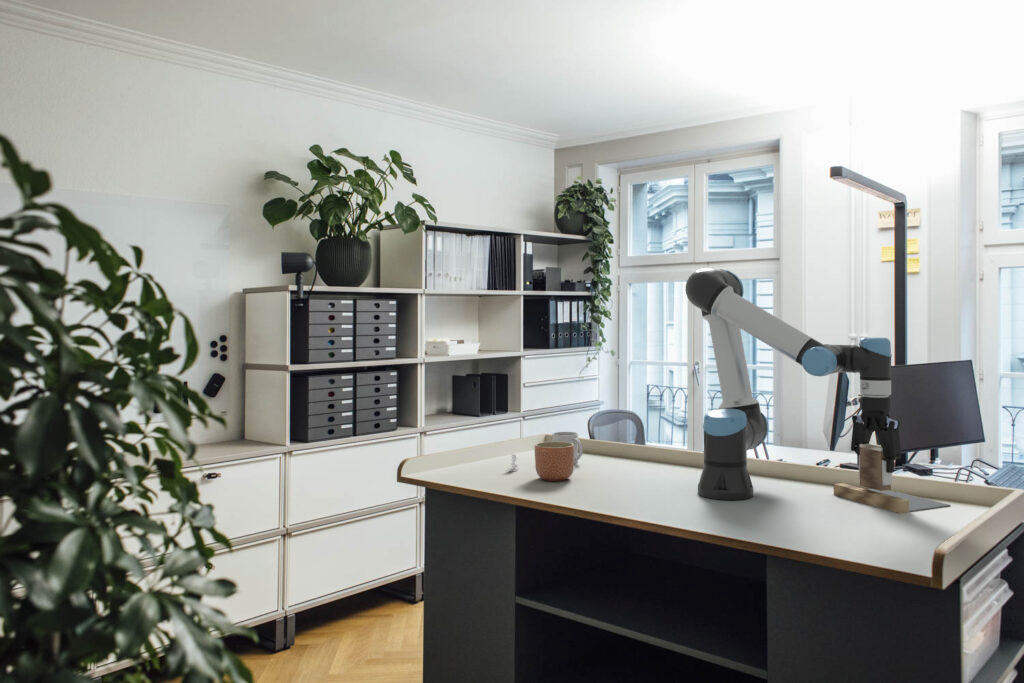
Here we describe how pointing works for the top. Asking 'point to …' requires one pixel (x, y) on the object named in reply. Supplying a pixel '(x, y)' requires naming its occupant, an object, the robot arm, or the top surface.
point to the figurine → (513, 463)
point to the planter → (554, 460)
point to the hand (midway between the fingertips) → (875, 481)
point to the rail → (872, 498)
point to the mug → (570, 438)
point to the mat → (914, 501)
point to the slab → (872, 467)
